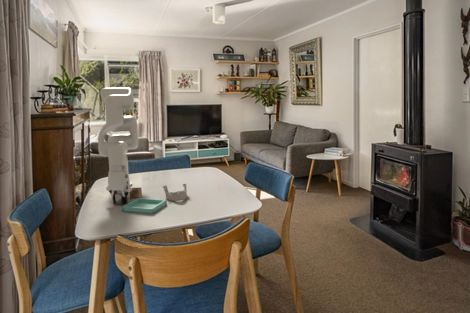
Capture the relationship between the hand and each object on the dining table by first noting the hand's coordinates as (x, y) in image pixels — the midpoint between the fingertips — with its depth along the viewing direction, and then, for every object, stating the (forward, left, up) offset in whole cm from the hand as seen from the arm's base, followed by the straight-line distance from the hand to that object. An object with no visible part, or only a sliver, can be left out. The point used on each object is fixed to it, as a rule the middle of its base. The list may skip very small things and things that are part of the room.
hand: (120, 203), depth 166 cm
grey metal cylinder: (0, 0, 0) cm, 0 cm away
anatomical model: (+25, +15, -1) cm, 29 cm away
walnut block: (+2, +11, -1) cm, 11 cm away
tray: (+16, -3, 0) cm, 16 cm away
